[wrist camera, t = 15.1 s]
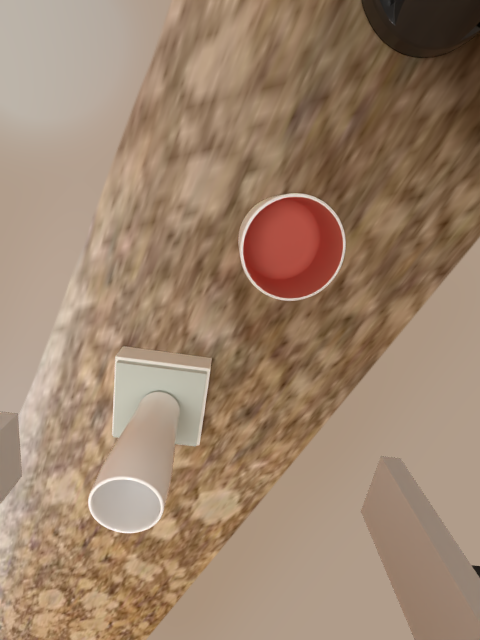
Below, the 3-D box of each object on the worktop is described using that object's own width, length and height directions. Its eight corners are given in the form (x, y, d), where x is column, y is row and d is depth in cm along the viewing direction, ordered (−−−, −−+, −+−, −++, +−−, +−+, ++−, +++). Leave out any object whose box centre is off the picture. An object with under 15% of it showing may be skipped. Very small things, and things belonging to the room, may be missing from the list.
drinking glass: (159, 437, 45) (127, 545, 31) (122, 405, 43) (70, 504, 29) (197, 409, 44) (180, 509, 30) (160, 374, 42) (124, 463, 28)
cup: (315, 280, 43) (339, 302, 33) (237, 278, 42) (238, 300, 33) (323, 196, 39) (353, 194, 30) (239, 194, 39) (241, 191, 30)
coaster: (211, 358, 46) (210, 371, 42) (201, 430, 50) (198, 449, 46) (123, 346, 45) (113, 359, 41) (119, 420, 49) (110, 439, 45)
